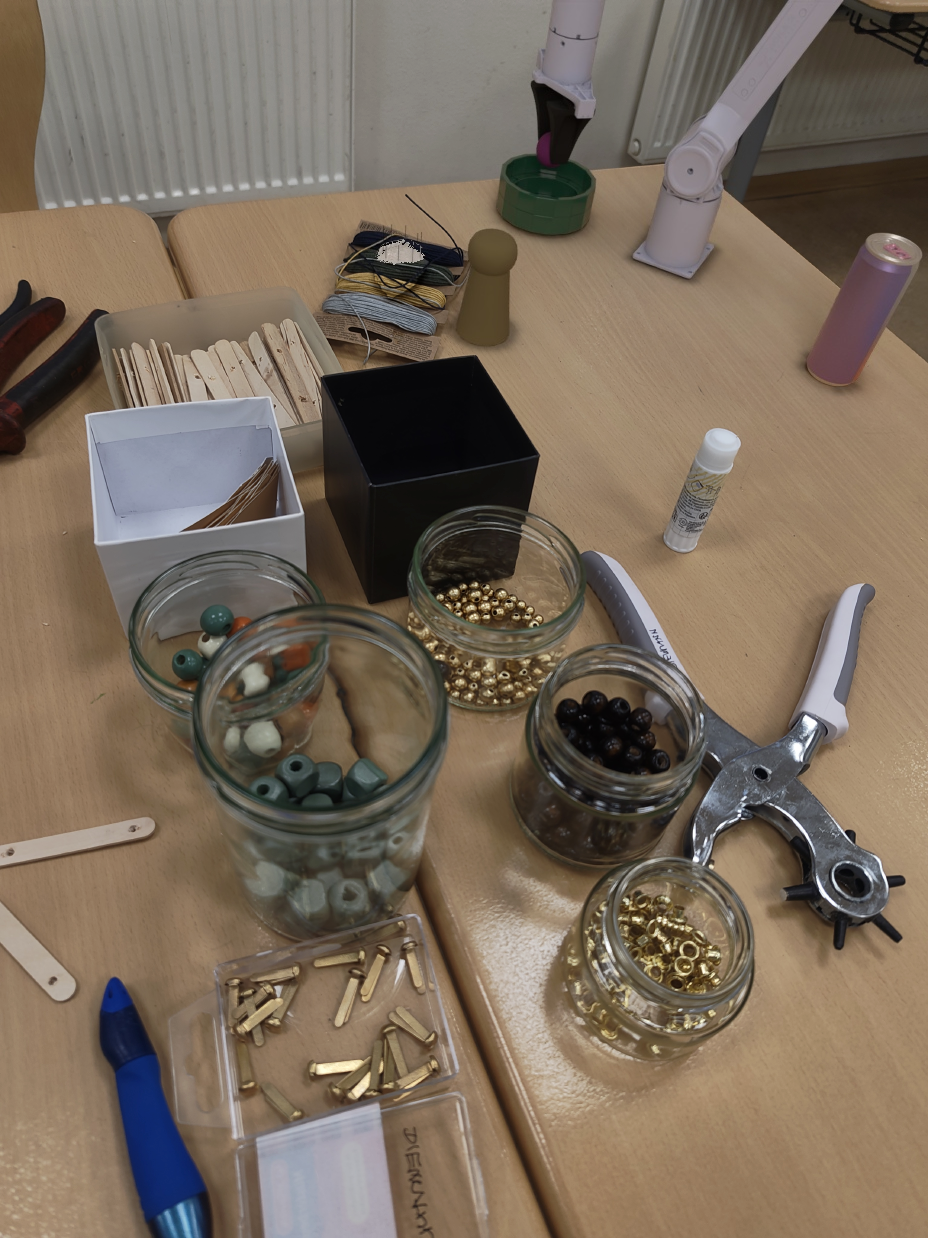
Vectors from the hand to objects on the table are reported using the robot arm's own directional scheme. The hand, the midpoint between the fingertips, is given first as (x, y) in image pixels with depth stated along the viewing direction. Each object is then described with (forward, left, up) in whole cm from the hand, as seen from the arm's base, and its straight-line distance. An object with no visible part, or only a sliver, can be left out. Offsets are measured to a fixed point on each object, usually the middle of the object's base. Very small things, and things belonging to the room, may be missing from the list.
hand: (552, 154), depth 108 cm
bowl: (0, 0, -8) cm, 8 cm away
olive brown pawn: (+28, +6, -8) cm, 30 cm away
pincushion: (+24, -7, -8) cm, 26 cm away
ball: (0, 0, -1) cm, 1 cm away
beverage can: (+11, +42, -8) cm, 44 cm away
